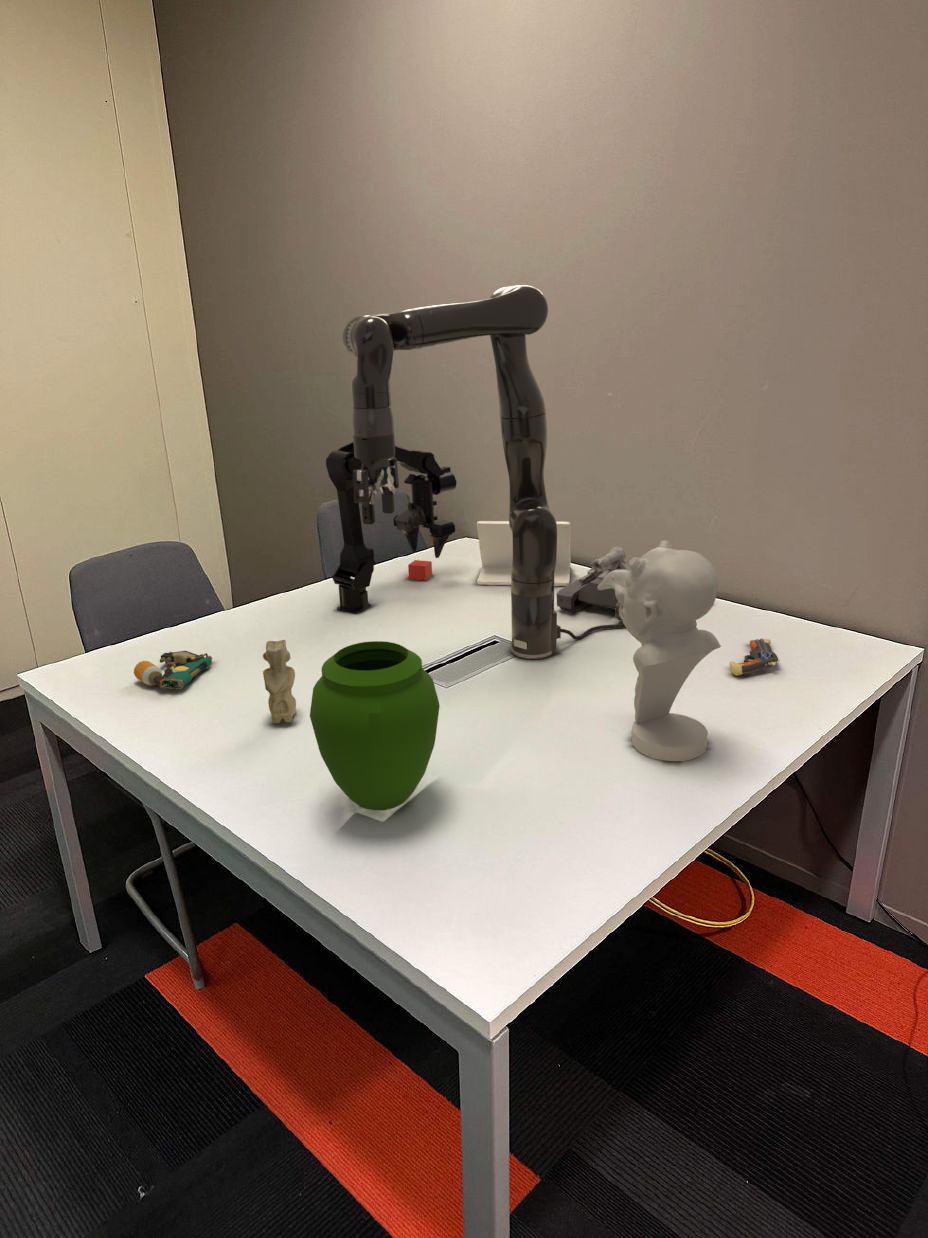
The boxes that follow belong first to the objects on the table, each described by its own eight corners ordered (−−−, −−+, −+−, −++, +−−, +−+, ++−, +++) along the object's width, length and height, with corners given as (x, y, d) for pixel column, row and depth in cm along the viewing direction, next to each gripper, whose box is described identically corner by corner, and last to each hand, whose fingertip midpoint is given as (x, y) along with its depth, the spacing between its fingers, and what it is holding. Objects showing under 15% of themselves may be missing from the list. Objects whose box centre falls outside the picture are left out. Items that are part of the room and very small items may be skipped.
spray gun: (177, 659, 191) (231, 671, 185) (120, 684, 176) (176, 698, 171) (176, 641, 190) (230, 653, 184) (118, 665, 175) (174, 678, 169)
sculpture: (301, 708, 164) (294, 636, 159) (296, 726, 158) (288, 651, 152) (271, 709, 164) (262, 637, 159) (265, 727, 158) (255, 652, 152)
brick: (415, 573, 243) (414, 559, 242) (432, 575, 242) (431, 561, 240) (408, 579, 239) (408, 564, 238) (425, 580, 237) (424, 566, 236)
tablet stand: (569, 585, 229) (570, 524, 223) (476, 584, 232) (475, 523, 226) (570, 566, 246) (571, 508, 240) (484, 564, 249) (483, 507, 243)
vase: (466, 785, 137) (462, 645, 128) (393, 849, 122) (383, 694, 113) (371, 755, 147) (361, 623, 138) (292, 810, 132) (275, 665, 123)
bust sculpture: (641, 695, 165) (650, 519, 153) (732, 748, 145) (751, 550, 133) (573, 715, 158) (577, 532, 146) (659, 773, 138) (671, 567, 126)
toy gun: (731, 666, 171) (784, 663, 169) (722, 637, 189) (769, 634, 187) (732, 679, 172) (784, 676, 170) (722, 649, 190) (770, 646, 188)
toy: (603, 584, 229) (605, 530, 224) (673, 597, 218) (677, 540, 213) (555, 612, 210) (556, 553, 205) (630, 627, 199) (633, 566, 194)
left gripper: (376, 499, 227) (380, 555, 233) (424, 509, 215) (427, 568, 220) (407, 491, 234) (410, 546, 240) (455, 500, 222) (457, 558, 228)
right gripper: (372, 425, 164) (377, 508, 169) (336, 437, 151) (343, 526, 157) (407, 426, 161) (412, 510, 167) (374, 438, 149) (380, 528, 154)
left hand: (425, 554), depth 232 cm, fingers open, 9 cm apart
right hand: (379, 518), depth 162 cm, fingers open, 8 cm apart
